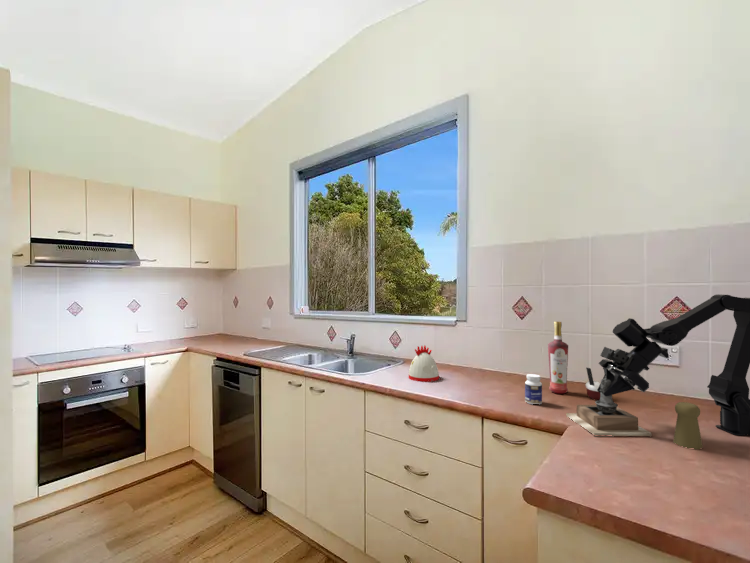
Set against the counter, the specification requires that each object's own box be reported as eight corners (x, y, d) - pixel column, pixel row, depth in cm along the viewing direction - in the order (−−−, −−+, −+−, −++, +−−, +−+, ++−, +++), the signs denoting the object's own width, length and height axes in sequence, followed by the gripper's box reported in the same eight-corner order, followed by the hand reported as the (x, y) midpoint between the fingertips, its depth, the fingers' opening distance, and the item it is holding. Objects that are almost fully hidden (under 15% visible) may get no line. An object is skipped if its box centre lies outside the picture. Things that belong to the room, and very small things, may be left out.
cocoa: (600, 396, 143) (600, 365, 144) (612, 401, 137) (612, 368, 138) (577, 396, 142) (577, 365, 143) (589, 401, 136) (589, 368, 136)
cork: (673, 437, 104) (673, 398, 104) (702, 443, 100) (701, 402, 100) (673, 445, 99) (672, 403, 99) (703, 451, 96) (702, 408, 96)
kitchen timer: (404, 375, 177) (403, 344, 177) (430, 373, 181) (430, 342, 181) (416, 383, 164) (415, 348, 164) (444, 380, 168) (443, 347, 168)
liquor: (550, 394, 145) (549, 322, 146) (546, 389, 153) (545, 320, 153) (571, 395, 144) (570, 322, 144) (566, 390, 151) (565, 321, 151)
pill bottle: (532, 405, 132) (531, 377, 132) (521, 401, 137) (521, 374, 137) (545, 404, 133) (545, 376, 134) (534, 399, 139) (534, 372, 139)
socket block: (651, 436, 105) (651, 420, 105) (594, 436, 105) (593, 420, 105) (616, 416, 121) (616, 402, 121) (566, 416, 121) (566, 402, 121)
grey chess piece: (623, 417, 111) (622, 377, 111) (606, 419, 110) (605, 378, 110) (606, 411, 117) (606, 372, 117) (590, 412, 115) (590, 374, 115)
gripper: (604, 334, 122) (569, 367, 123) (636, 343, 104) (594, 382, 105) (631, 358, 121) (595, 391, 122) (667, 372, 102) (625, 411, 104)
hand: (601, 393), depth 113 cm, fingers closed on grey chess piece, 4 cm apart
